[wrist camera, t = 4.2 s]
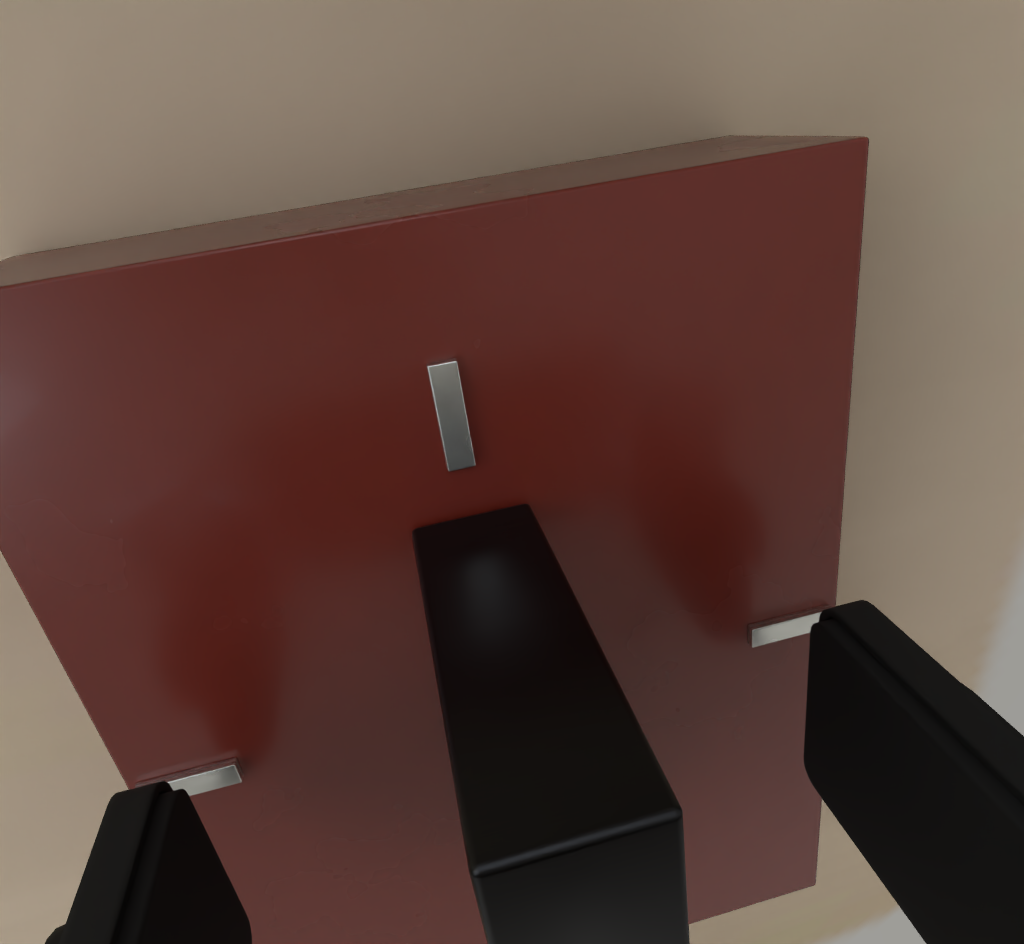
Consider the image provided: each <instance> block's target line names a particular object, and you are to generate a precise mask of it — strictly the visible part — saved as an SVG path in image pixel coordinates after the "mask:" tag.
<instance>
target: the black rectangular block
mask: <svg viewBox="0 0 1024 944" xmlns="http://www.w3.org/2000/svg"><path fill="white" fill-rule="evenodd" d="M412 540H413V545H414V551H415V557H416V563H417V569H418V575H419V581H420V587H421V592H422V598H423V604H424V610H425V616H426V622H427V628H428V634H429V639H430V645H431V651H432V657H433V663H434V669H435V675H436V681H437V686H438V692H439V698H440V704H441V710H442V716H443V722H444V728H445V733H446V739H447V745H448V751H449V757H450V763H451V769H452V775H453V780H454V786H455V792H456V798H457V804H458V810H459V816H460V822H461V827H462V833H463V839H464V845H465V851H466V857H467V863H468V869H469V873H470V877H471V881H472V885H473V889H474V893H475V897H476V901H477V905H478V908H479V912H480V916H481V920H482V924H483V928H484V932H485V936H486V940H487V943H488V944H689V926H688V907H687V887H686V868H685V849H684V830H683V811H682V808H681V806H680V804H679V802H678V800H677V798H676V796H675V794H674V792H673V790H672V788H671V786H670V784H669V782H668V780H667V778H666V776H665V774H664V772H663V770H662V768H661V766H660V764H659V762H658V760H657V758H656V756H655V754H654V752H653V750H652V748H651V746H650V744H649V742H648V740H647V738H646V736H645V734H644V732H643V730H642V728H641V726H640V724H639V722H638V720H637V718H636V716H635V714H634V712H633V710H632V708H631V706H630V704H629V702H628V700H627V698H626V696H625V694H624V692H623V690H622V688H621V686H620V684H619V682H618V680H617V678H616V676H615V674H614V672H613V670H612V668H611V666H610V664H609V662H608V660H607V658H606V656H605V654H604V652H603V650H602V648H601V646H600V644H599V642H598V640H597V638H596V636H595V634H594V632H593V630H592V628H591V626H590V624H589V622H588V620H587V618H586V616H585V614H584V612H583V610H582V608H581V606H580V604H579V602H578V600H577V598H576V596H575V594H574V592H573V590H572V588H571V586H570V584H569V582H568V580H567V578H566V576H565V574H564V572H563V570H562V568H561V566H560V564H559V562H558V560H557V558H556V556H555V554H554V552H553V550H552V548H551V546H550V544H549V542H548V540H547V538H546V536H545V534H544V532H543V530H542V528H541V526H540V524H539V522H538V520H537V518H536V516H535V514H534V512H533V510H532V508H531V507H530V505H529V504H520V505H516V506H512V507H507V508H503V509H498V510H494V511H490V512H485V513H481V514H476V515H472V516H468V517H463V518H459V519H455V520H450V521H446V522H441V523H437V524H433V525H428V526H424V527H419V528H416V529H414V530H413V532H412Z"/></svg>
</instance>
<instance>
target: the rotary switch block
mask: <svg viewBox="0 0 1024 944" xmlns="http://www.w3.org/2000/svg"><path fill="white" fill-rule="evenodd" d="M868 146H869V139H868V138H867V137H861V136H734V135H730V136H724V137H718V138H712V139H706V140H700V141H694V142H688V143H682V144H677V145H671V146H665V147H659V148H653V149H647V150H641V151H635V152H629V153H623V154H617V155H611V156H605V157H599V158H594V159H588V160H582V161H576V162H570V163H564V164H558V165H552V166H546V167H540V168H534V169H528V170H522V171H517V172H511V173H505V174H499V175H493V176H487V177H481V178H475V179H469V180H463V181H457V182H451V183H445V184H439V185H434V186H428V187H422V188H416V189H410V190H404V191H398V192H392V193H386V194H380V195H374V196H368V197H362V198H356V199H351V200H345V201H339V202H333V203H327V204H321V205H315V206H309V207H303V208H297V209H291V210H285V211H279V212H274V213H268V214H262V215H256V216H250V217H244V218H238V219H232V220H226V221H220V222H214V223H208V224H202V225H196V226H191V227H185V228H179V229H173V230H167V231H161V232H155V233H149V234H143V235H137V236H131V237H125V238H119V239H113V240H108V241H102V242H96V243H90V244H84V245H78V246H72V247H66V248H60V249H54V250H48V251H42V252H36V253H31V254H25V255H19V256H13V257H10V258H8V259H5V260H2V261H0V550H1V552H2V554H3V556H4V558H5V559H6V561H7V563H8V565H9V567H10V569H11V571H12V572H13V574H14V576H15V578H16V580H17V582H18V584H19V586H20V587H21V589H22V591H23V593H24V595H25V597H26V599H27V600H28V602H29V604H30V606H31V608H32V610H33V612H34V613H35V615H36V617H37V619H38V621H39V623H40V625H41V626H42V628H43V630H44V632H45V634H46V636H47V638H48V640H49V641H50V643H51V645H52V647H53V649H54V651H55V653H56V654H57V656H58V658H59V660H60V662H61V664H62V666H63V667H64V669H65V671H66V673H67V675H68V677H69V679H70V680H71V682H72V684H73V686H74V688H75V690H76V692H77V693H78V695H79V697H80V699H81V701H82V703H83V705H84V707H85V708H86V710H87V712H88V714H89V716H90V718H91V720H92V721H93V723H94V725H95V727H96V729H97V731H98V733H99V734H100V736H101V738H102V740H103V742H104V744H105V746H106V747H107V749H108V751H109V753H110V755H111V757H112V759H113V761H114V762H115V764H116V766H117V768H118V770H119V772H120V774H121V775H122V777H123V779H124V781H125V783H126V785H127V787H128V788H129V790H130V789H134V788H138V787H142V786H145V785H149V784H153V783H157V782H161V781H166V782H167V783H169V784H170V786H171V787H172V789H173V791H174V790H178V789H184V790H186V792H187V793H188V795H189V797H190V799H191V801H192V803H193V805H194V807H195V809H196V811H197V813H198V815H199V817H200V819H201V821H202V824H203V826H204V828H205V830H206V832H207V834H208V836H209V838H210V840H211V842H212V844H213V846H214V848H215V850H216V852H217V854H218V856H219V858H220V861H221V863H222V865H223V867H224V869H225V871H226V873H227V875H228V877H229V879H230V881H231V883H232V885H233V887H234V889H235V891H236V893H237V896H238V898H239V900H240V902H241V904H242V906H243V908H244V910H245V912H246V914H247V916H248V919H249V922H250V926H251V933H252V944H488V943H487V940H486V936H485V932H484V928H483V924H482V920H481V916H480V912H479V908H478V905H477V901H476V897H475V893H474V889H473V885H472V881H471V877H470V873H469V869H468V863H467V857H466V851H465V845H464V839H463V833H462V827H461V822H460V816H459V810H458V804H457V798H456V792H455V786H454V780H453V775H452V769H451V763H450V757H449V751H448V745H447V739H446V733H445V728H444V722H443V716H442V710H441V704H440V698H439V692H438V686H437V681H436V675H435V669H434V663H433V657H432V651H431V645H430V639H429V634H428V628H427V622H426V616H425V610H424V604H423V598H422V592H421V587H420V581H419V575H418V569H417V563H416V557H415V551H414V545H413V540H412V532H413V530H414V529H416V528H419V527H424V526H428V525H433V524H437V523H441V522H446V521H450V520H455V519H459V518H463V517H468V516H472V515H476V514H481V513H485V512H490V511H494V510H498V509H503V508H507V507H512V506H516V505H520V504H529V505H530V507H531V508H532V510H533V512H534V514H535V516H536V518H537V520H538V522H539V524H540V526H541V528H542V530H543V532H544V534H545V536H546V538H547V540H548V542H549V544H550V546H551V548H552V550H553V552H554V554H555V556H556V558H557V560H558V562H559V564H560V566H561V568H562V570H563V572H564V574H565V576H566V578H567V580H568V582H569V584H570V586H571V588H572V590H573V592H574V594H575V596H576V598H577V600H578V602H579V604H580V606H581V608H582V610H583V612H584V614H585V616H586V618H587V620H588V622H589V624H590V626H591V628H592V630H593V632H594V634H595V636H596V638H597V640H598V642H599V644H600V646H601V648H602V650H603V652H604V654H605V656H606V658H607V660H608V662H609V664H610V666H611V668H612V670H613V672H614V674H615V676H616V678H617V680H618V682H619V684H620V686H621V688H622V690H623V692H624V694H625V696H626V698H627V700H628V702H629V704H630V706H631V708H632V710H633V712H634V714H635V716H636V718H637V720H638V722H639V724H640V726H641V728H642V730H643V732H644V734H645V736H646V738H647V740H648V742H649V744H650V746H651V748H652V750H653V752H654V754H655V756H656V758H657V760H658V762H659V764H660V766H661V768H662V770H663V772H664V774H665V776H666V778H667V780H668V782H669V784H670V786H671V788H672V790H673V792H674V794H675V796H676V798H677V800H678V802H679V804H680V806H681V808H682V811H683V830H684V849H685V868H686V887H687V907H688V924H691V923H694V922H698V921H701V920H704V919H707V918H710V917H714V916H717V915H720V914H723V913H727V912H730V911H733V910H736V909H739V908H743V907H746V906H749V905H752V904H756V903H759V902H762V901H765V900H768V899H772V898H775V897H778V896H781V895H785V894H788V893H791V892H794V891H797V890H801V889H804V888H807V887H810V886H814V885H815V884H816V871H817V857H818V843H819V829H820V815H821V802H822V798H821V796H820V795H819V794H818V792H817V791H816V789H815V788H814V786H813V785H812V783H811V781H810V779H809V777H808V775H807V772H806V769H805V765H804V740H805V721H806V702H807V683H808V664H809V645H810V630H811V626H812V625H813V624H814V623H817V622H819V617H820V614H821V612H822V611H823V610H825V609H829V608H832V607H835V606H836V592H837V578H838V564H839V550H840V536H841V522H842V509H843V495H844V481H845V467H846V453H847V439H848V425H849V411H850V397H851V383H852V369H853V355H854V341H855V327H856V313H857V299H858V285H859V271H860V257H861V243H862V230H863V216H864V202H865V188H866V174H867V160H868Z"/></svg>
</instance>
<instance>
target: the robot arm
mask: <svg viewBox="0 0 1024 944" xmlns="http://www.w3.org/2000/svg"><path fill="white" fill-rule="evenodd" d="M804 765H805V769H806V772H807V775H808V777H809V779H810V781H811V783H812V785H813V786H814V788H815V789H816V791H817V792H818V794H819V795H820V796H821V798H822V799H823V800H824V802H825V803H826V805H827V806H828V807H829V809H830V810H831V812H832V813H833V814H834V816H835V817H836V819H837V820H838V821H839V823H840V824H841V826H842V827H843V828H844V830H845V831H846V832H847V834H848V835H849V837H850V838H851V839H852V841H853V842H854V844H855V845H856V846H857V848H858V849H859V851H860V852H861V853H862V855H863V856H864V858H865V859H866V860H867V862H868V863H869V864H870V866H871V867H872V869H873V870H874V871H875V873H876V874H877V876H878V877H879V878H880V880H881V881H882V883H883V884H884V885H885V887H886V888H887V890H888V891H889V892H890V894H891V895H892V896H893V898H894V899H895V901H896V902H897V903H898V905H899V906H900V908H901V909H902V910H903V912H904V913H905V915H906V916H907V917H908V919H909V920H910V921H911V923H912V924H913V926H914V927H915V928H916V930H917V931H918V933H919V934H920V935H921V937H922V938H923V940H924V941H925V942H926V943H927V944H1024V736H1023V735H1021V734H1020V733H1019V732H1018V731H1017V730H1016V729H1015V728H1013V726H1011V725H1010V724H1009V723H1008V722H1007V721H1006V720H1005V719H1004V718H1002V717H1001V716H1000V715H999V714H998V713H997V712H996V711H995V710H993V709H992V708H991V707H990V706H989V705H988V704H987V703H986V702H984V701H983V700H982V699H981V698H980V697H979V696H978V695H976V694H975V693H974V692H973V691H972V690H970V689H969V688H967V687H966V686H965V685H963V684H962V683H960V682H959V681H958V680H957V679H956V678H955V677H953V676H952V675H951V674H950V673H949V672H948V671H947V670H946V669H944V668H943V667H942V666H941V665H940V664H939V663H938V662H937V661H935V660H934V659H933V658H932V657H931V656H930V655H929V654H928V653H927V652H925V651H924V650H923V649H922V648H921V647H920V646H919V645H918V644H916V643H915V642H914V641H913V640H912V639H911V638H910V637H909V636H907V635H906V634H905V633H904V632H903V631H902V630H901V629H900V628H898V627H897V626H896V625H895V624H894V623H893V622H892V621H891V620H889V619H888V618H887V617H886V616H885V615H884V614H883V613H882V612H880V611H879V610H878V609H877V608H876V607H875V606H874V605H872V604H871V603H869V602H868V601H864V600H859V601H856V602H852V603H848V604H844V605H840V606H836V607H832V608H829V609H825V610H823V611H822V612H821V614H820V617H819V622H817V623H814V624H813V625H812V626H811V630H810V645H809V664H808V683H807V702H806V721H805V740H804ZM45 944H252V933H251V926H250V922H249V919H248V916H247V914H246V912H245V910H244V908H243V906H242V904H241V902H240V900H239V898H238V896H237V893H236V891H235V889H234V887H233V885H232V883H231V881H230V879H229V877H228V875H227V873H226V871H225V869H224V867H223V865H222V863H221V861H220V858H219V856H218V854H217V852H216V850H215V848H214V846H213V844H212V842H211V840H210V838H209V836H208V834H207V832H206V830H205V828H204V826H203V824H202V821H201V819H200V817H199V815H198V813H197V811H196V809H195V807H194V805H193V803H192V801H191V799H190V797H189V795H188V793H187V792H186V790H184V789H178V790H174V791H173V789H172V787H171V786H170V784H169V783H167V782H166V781H161V782H157V783H153V784H149V785H145V786H142V787H138V788H134V789H130V790H126V791H122V792H118V793H116V794H115V795H113V796H112V797H111V799H110V801H109V803H108V805H107V808H106V811H105V814H104V817H103V820H102V822H101V825H100V828H99V831H98V834H97V837H96V840H95V842H94V845H93V848H92V851H91V854H90V857H89V859H88V862H87V865H86V868H85V871H84V874H83V876H82V879H81V882H80V885H79V888H78V891H77V893H76V896H75V899H74V902H73V905H72V908H71V910H70V913H69V916H68V919H67V922H66V924H65V925H63V926H60V927H58V928H56V929H55V930H54V932H53V933H52V934H51V935H50V936H49V937H48V939H47V940H46V942H45Z"/></svg>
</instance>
